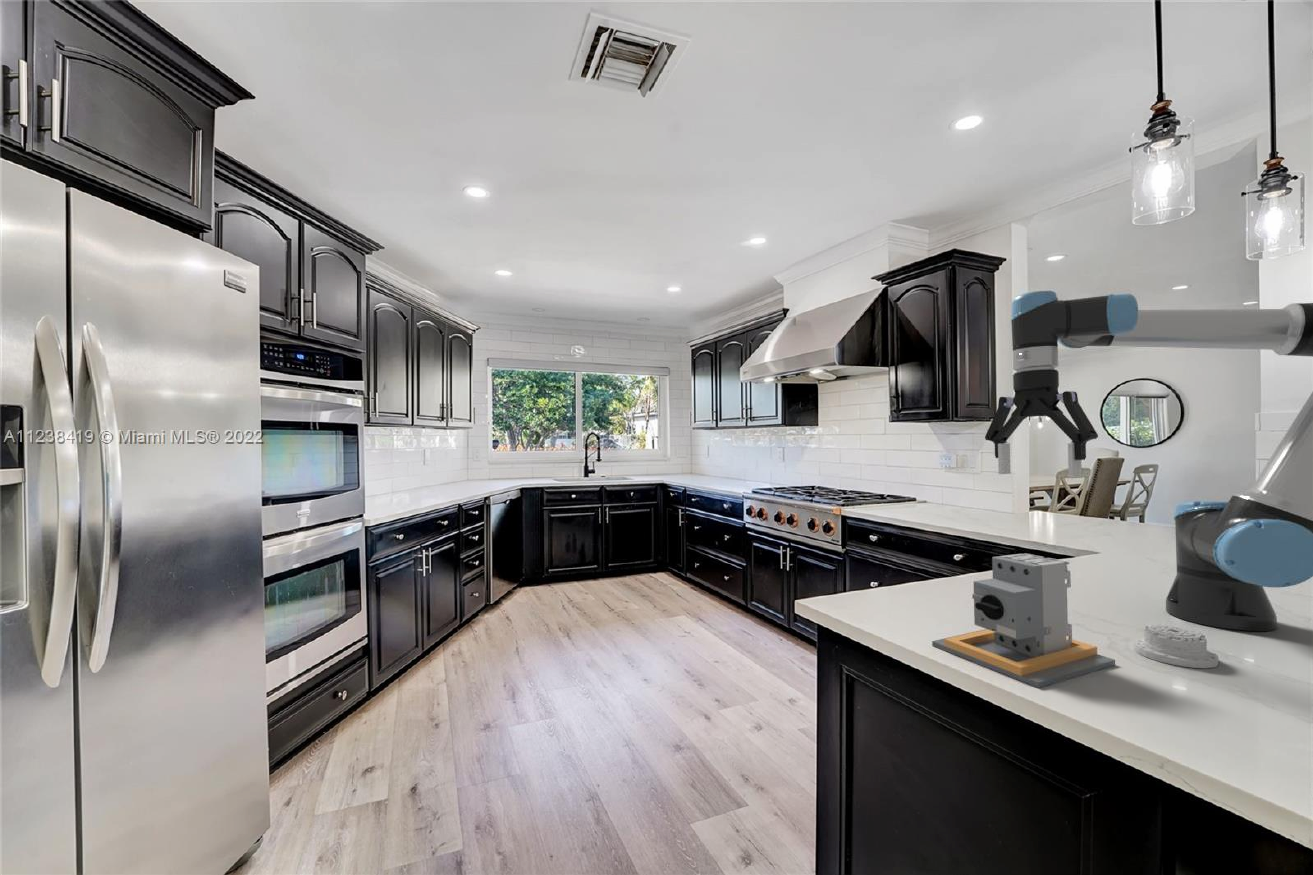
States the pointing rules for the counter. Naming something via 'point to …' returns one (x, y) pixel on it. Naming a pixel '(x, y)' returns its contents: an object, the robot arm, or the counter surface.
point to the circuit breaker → (1025, 604)
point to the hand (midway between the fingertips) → (1037, 475)
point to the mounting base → (1025, 658)
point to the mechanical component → (1176, 646)
